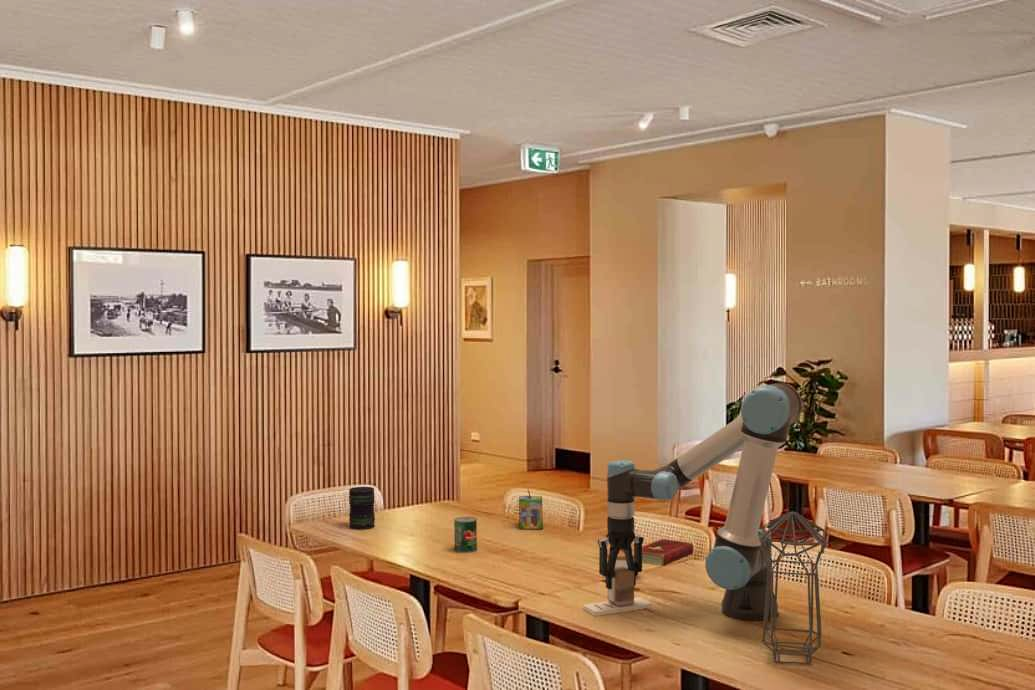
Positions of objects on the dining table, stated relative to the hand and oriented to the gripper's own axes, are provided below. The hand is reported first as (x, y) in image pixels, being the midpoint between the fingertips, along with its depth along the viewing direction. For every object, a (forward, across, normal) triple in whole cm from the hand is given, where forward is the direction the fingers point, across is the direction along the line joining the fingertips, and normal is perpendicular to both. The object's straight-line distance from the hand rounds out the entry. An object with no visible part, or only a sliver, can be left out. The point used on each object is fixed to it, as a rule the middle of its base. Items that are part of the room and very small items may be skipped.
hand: (620, 598), depth 277 cm
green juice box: (+3, -20, -106) cm, 108 cm away
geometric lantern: (+2, -17, +53) cm, 55 cm away
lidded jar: (+3, -16, -28) cm, 33 cm away
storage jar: (+4, +40, -135) cm, 141 cm away
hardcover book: (+3, -41, -44) cm, 61 cm away
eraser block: (+1, 0, 0) cm, 1 cm away
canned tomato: (+3, +16, -82) cm, 84 cm away
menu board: (+3, +1, 0) cm, 3 cm away
